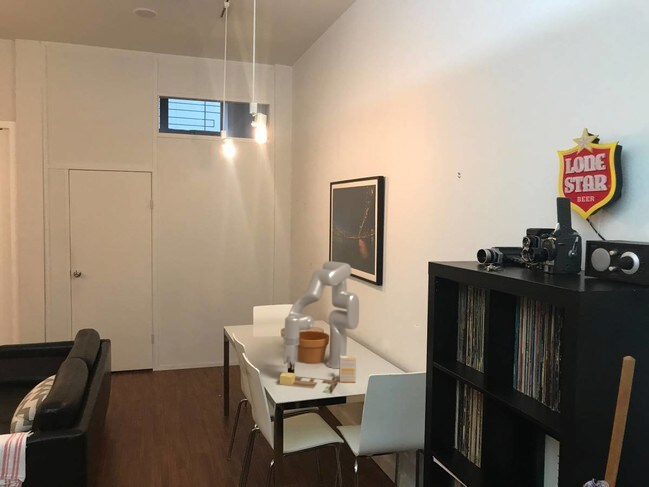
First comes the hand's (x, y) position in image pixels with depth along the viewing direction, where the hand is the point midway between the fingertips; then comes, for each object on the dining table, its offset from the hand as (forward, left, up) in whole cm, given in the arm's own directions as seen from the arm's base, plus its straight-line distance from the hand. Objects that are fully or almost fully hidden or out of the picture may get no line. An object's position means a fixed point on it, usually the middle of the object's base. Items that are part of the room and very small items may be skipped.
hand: (290, 376), depth 259 cm
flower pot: (-39, 0, -3) cm, 39 cm away
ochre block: (+7, 0, -1) cm, 7 cm away
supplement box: (-9, +27, -3) cm, 29 cm away
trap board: (+3, +9, -3) cm, 10 cm away
